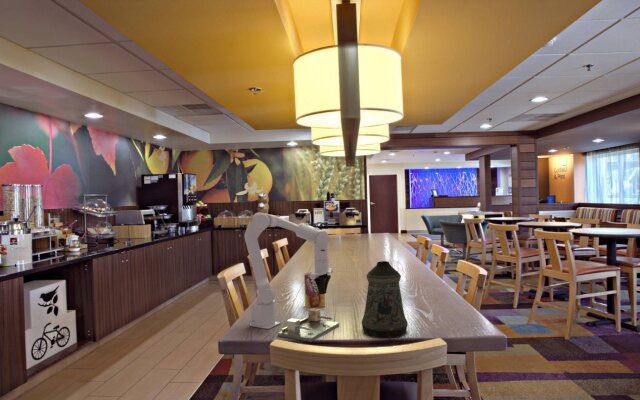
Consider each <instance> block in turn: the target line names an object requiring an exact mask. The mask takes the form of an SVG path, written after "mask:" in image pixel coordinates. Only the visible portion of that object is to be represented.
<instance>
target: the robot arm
mask: <svg viewBox="0 0 640 400" xmlns="http://www.w3.org/2000/svg"><path fill="white" fill-rule="evenodd" d="M268 227H269V228H271V227H272V228H273V227H280V228H282V229H286V230H287V231H288V230H289V231H290V232H294V233H295V235H296V237H298V238H301V239H303V240H306V241H308V242H313V246H314V248H313V256H314V257H313V258H314V259H313V260H314V264H313V265H314V271H312V272H313V273H311V274H310V279H314V281H315V283H316V285H317V288H318V291H319V294H325V295H326V294H327V290H328V285H329V282H330V280H331V277H332V275H331V274H333V273H334V268H332V267H329V266H330V264H329V263H330V261H329V242H330V240H331V239H330V235H329V234H328V232H326V231H325V230H322V229H320V228H319V227H314V226H312V225H309V223H308V222H304V223H303V222H300V223H299V224H296V223H294V222H292V221H289V220H287V219H285V218H282V217H279V216H278V215H273V214H269V213H264V212H256V213H254V214H253V215H252V216H251V218H250V219H249V221H248V224H247V227H246V229H245V232H244V240H245V244H246V248H247V249H246V250H247V252H248V255H249V259H250V263H251V267H252V271H253V274H254V278H255V284H256V290H255V291H256V292H255V293H256V295H257V297H258V299H257V300H255V301H254V302H252V303H251V306H250V312H249V313H250V324H249V327H255V328H259V329H265V330H269V329H272V328H273V327H276V326H278V325H280V324H281V322H280V321H277V320H276V300H275V298H276V295H275V294H276V293H275V291H274V290H273V288H272V286H271V285H270V281H269V278H268V275H267V272H266V268H265V267H266V266H265V264H264V260H263V259H264V258H263V255H262V252H261V248H260V244H259V237H260V235H261V234H262V232H264V231H265V230H266V229H267V228H268Z"/></svg>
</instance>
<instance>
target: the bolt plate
mask: <svg viewBox="0 0 640 400" xmlns="http://www.w3.org/2000/svg"><path fill="white" fill-rule="evenodd" d="M299 320H300V326H303V327H309V328H312V330H306V329H300V331H298V332H296V333H292V332H287V326H286V327H283V328H281V331H279V332H277V336H278V337H283V338H287V339H291V340H292V339H293V340H296V341H297V340H298V341H302V342H308V343H312V342H314V341H315V340H317V339H319V338H320V337H322V336H324V335H326V334H328V333H330V332H331V331H333V330H334V329H336V328H338V327H340V322H337V321H331V320H326V319H325V320H324V319H320V320H318V321H310V320H309V318H308V316H306V317H304V318H302V319H299Z"/></svg>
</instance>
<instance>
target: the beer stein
mask: <svg viewBox="0 0 640 400" xmlns="http://www.w3.org/2000/svg"><path fill="white" fill-rule="evenodd" d="M401 278H402V275H401V274H400V272H399V271H397V270H396V269H395V268H394V267H393V266H392V265H391V263H390V261H386V260H382V261H377V262H376V265H375V266H373V267H372V269H371V270H369V271H368V273H367V274H366V280H367V284H368V286H367V294H366V299H365V301H366V302H365V307H364V313H363V317H362V319H361V327H362V328H361V329H362V332H363V333H364V335H366V336H369V337H371V338H376V339H385V340H386V339H389V340H390V339H395V338H400V337H403V336H404V335H406V334H407V329H408V324H409V323H408V320H407V318H406V315H405V310H404V305H403V300H402V299H403V298H402V291H401V287H400V281H401Z"/></svg>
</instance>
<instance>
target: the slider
mask: <svg viewBox="0 0 640 400" xmlns="http://www.w3.org/2000/svg"><path fill="white" fill-rule="evenodd" d="M307 312H308V315H307V317H308V318H309V320H310V321H318V320H321V319H322V320H324V319H325V320H329V321H331V320H333V318H332V317H331V316H330V317H329V316H324V315H321V309H320V308H315V307H311V308H309V309H308V311H307Z"/></svg>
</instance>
